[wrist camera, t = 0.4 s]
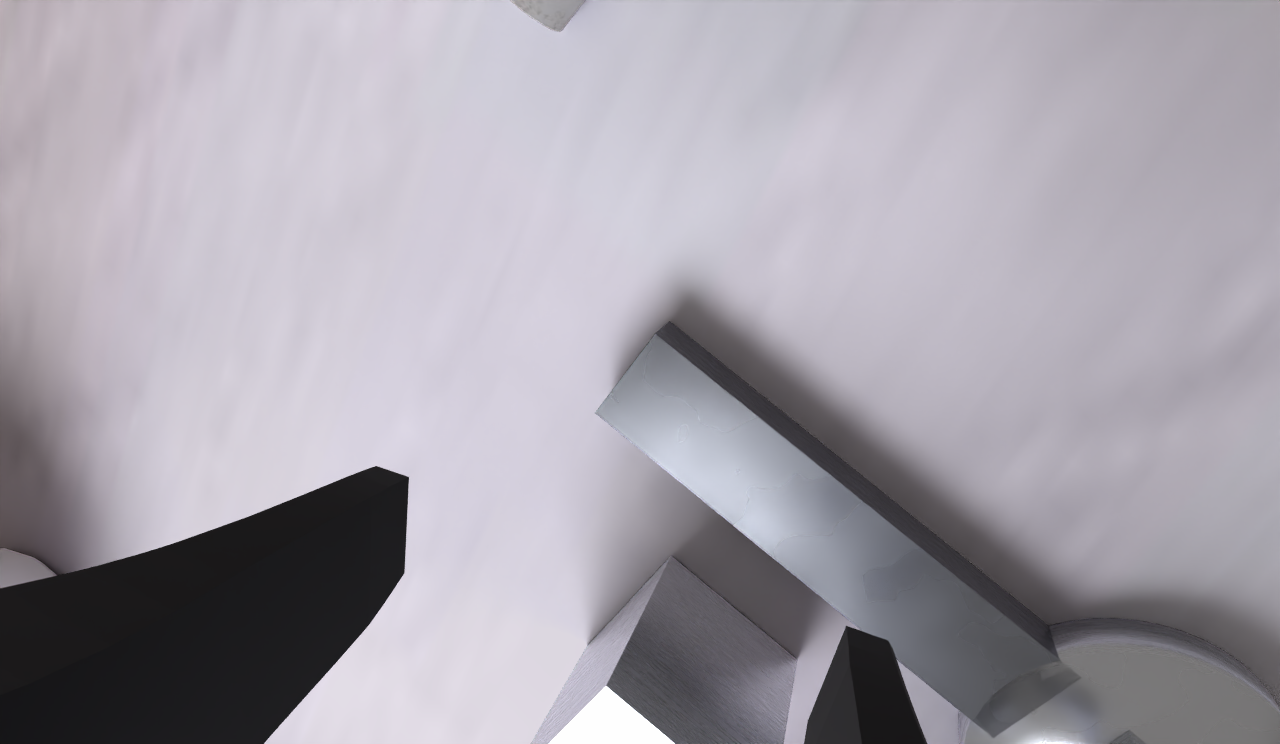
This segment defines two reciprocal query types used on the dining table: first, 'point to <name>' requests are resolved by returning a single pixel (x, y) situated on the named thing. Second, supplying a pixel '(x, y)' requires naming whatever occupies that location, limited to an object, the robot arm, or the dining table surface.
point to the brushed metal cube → (675, 674)
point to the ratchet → (925, 578)
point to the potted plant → (20, 568)
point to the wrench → (550, 11)
